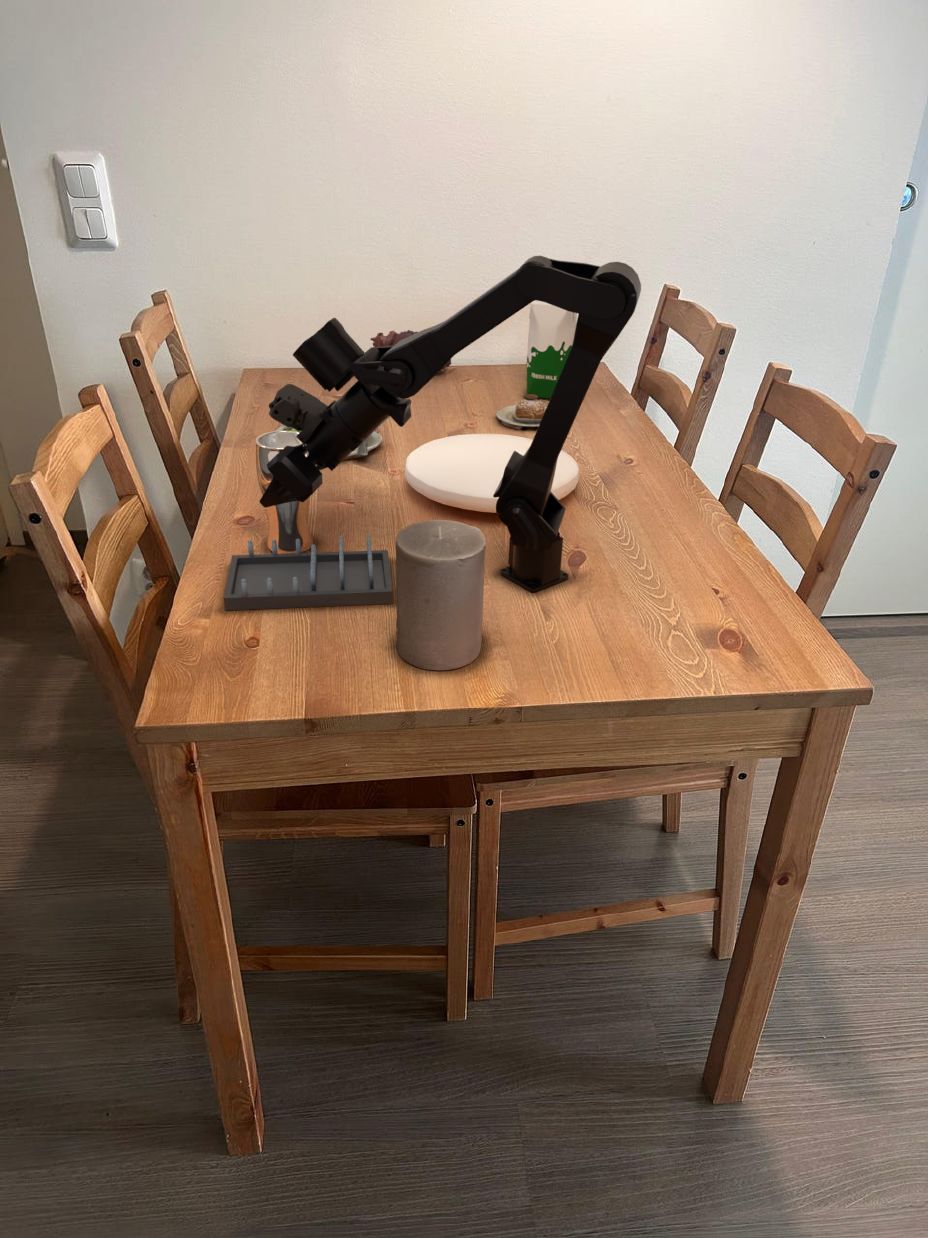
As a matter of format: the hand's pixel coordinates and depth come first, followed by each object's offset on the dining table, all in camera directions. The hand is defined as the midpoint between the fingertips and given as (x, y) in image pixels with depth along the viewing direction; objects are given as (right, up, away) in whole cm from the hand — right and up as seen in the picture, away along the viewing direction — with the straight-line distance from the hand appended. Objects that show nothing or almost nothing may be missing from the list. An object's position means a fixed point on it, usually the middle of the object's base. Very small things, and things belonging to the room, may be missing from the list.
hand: (276, 490), depth 122 cm
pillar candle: (+22, -20, -17) cm, 34 cm away
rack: (+5, -13, -6) cm, 15 cm away
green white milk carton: (+41, +28, +63) cm, 80 cm away
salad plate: (+2, +13, +37) cm, 39 cm away
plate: (+29, +3, +22) cm, 36 cm away
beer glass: (+1, -7, +4) cm, 8 cm away
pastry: (+37, +20, +49) cm, 64 cm away
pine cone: (+14, +34, +72) cm, 81 cm away
